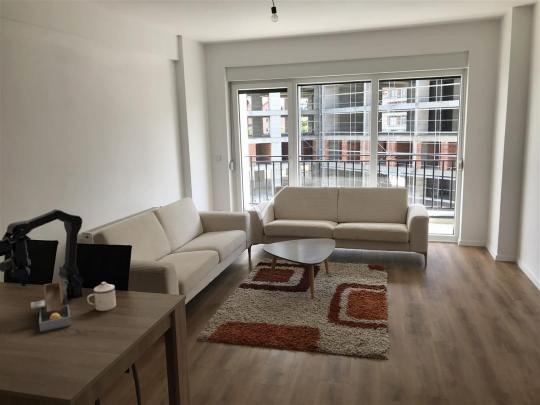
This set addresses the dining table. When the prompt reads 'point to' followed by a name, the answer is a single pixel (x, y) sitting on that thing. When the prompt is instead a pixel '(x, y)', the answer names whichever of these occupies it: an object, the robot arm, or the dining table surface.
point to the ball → (54, 316)
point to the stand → (65, 301)
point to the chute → (50, 298)
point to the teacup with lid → (104, 297)
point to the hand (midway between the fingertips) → (24, 286)
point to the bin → (54, 324)
